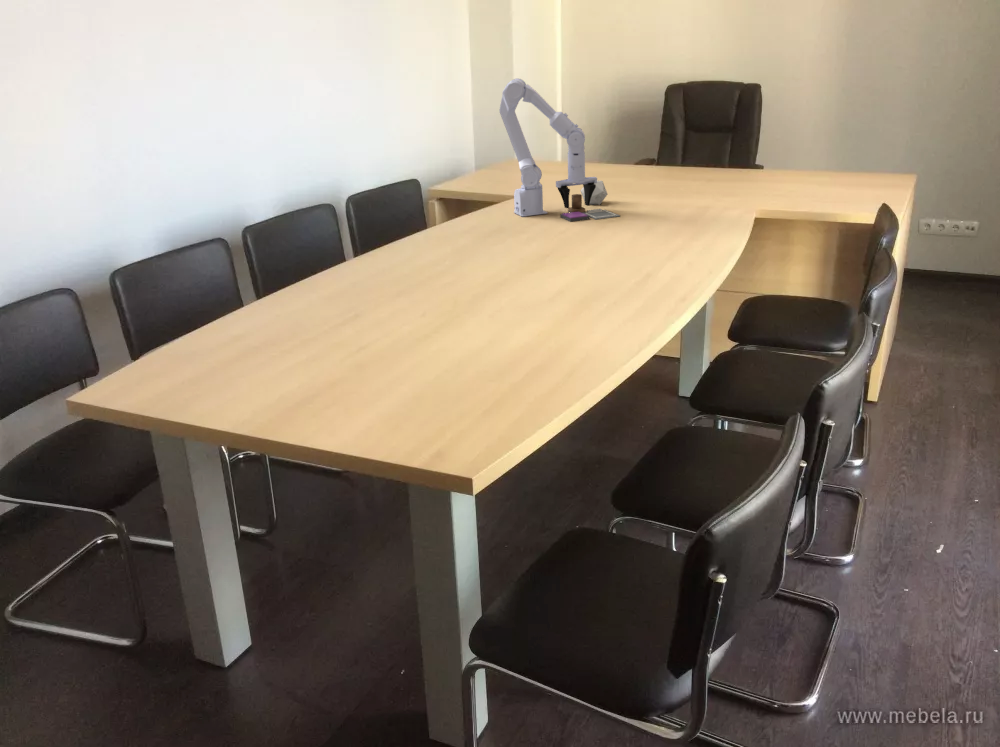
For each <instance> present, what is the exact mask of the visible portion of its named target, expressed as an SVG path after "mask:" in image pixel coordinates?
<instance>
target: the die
mask: <svg viewBox="0 0 1000 747" xmlns="http://www.w3.org/2000/svg"><path fill="white" fill-rule="evenodd" d="M595 185H596V188H595V189H594V191H593V194H592V196H591V199H590V204H589V205H593V206H594V205H595V206H600V205H601V204H602V202H603V201H604V200H605V199H606V197H607V196H608V192H607V189H606V186H605V183H604V180H597V183H595ZM580 194H581V195H582V199H583V201H584V202H585V194H584V187H583V186H582V188H581V189H580Z"/></svg>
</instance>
